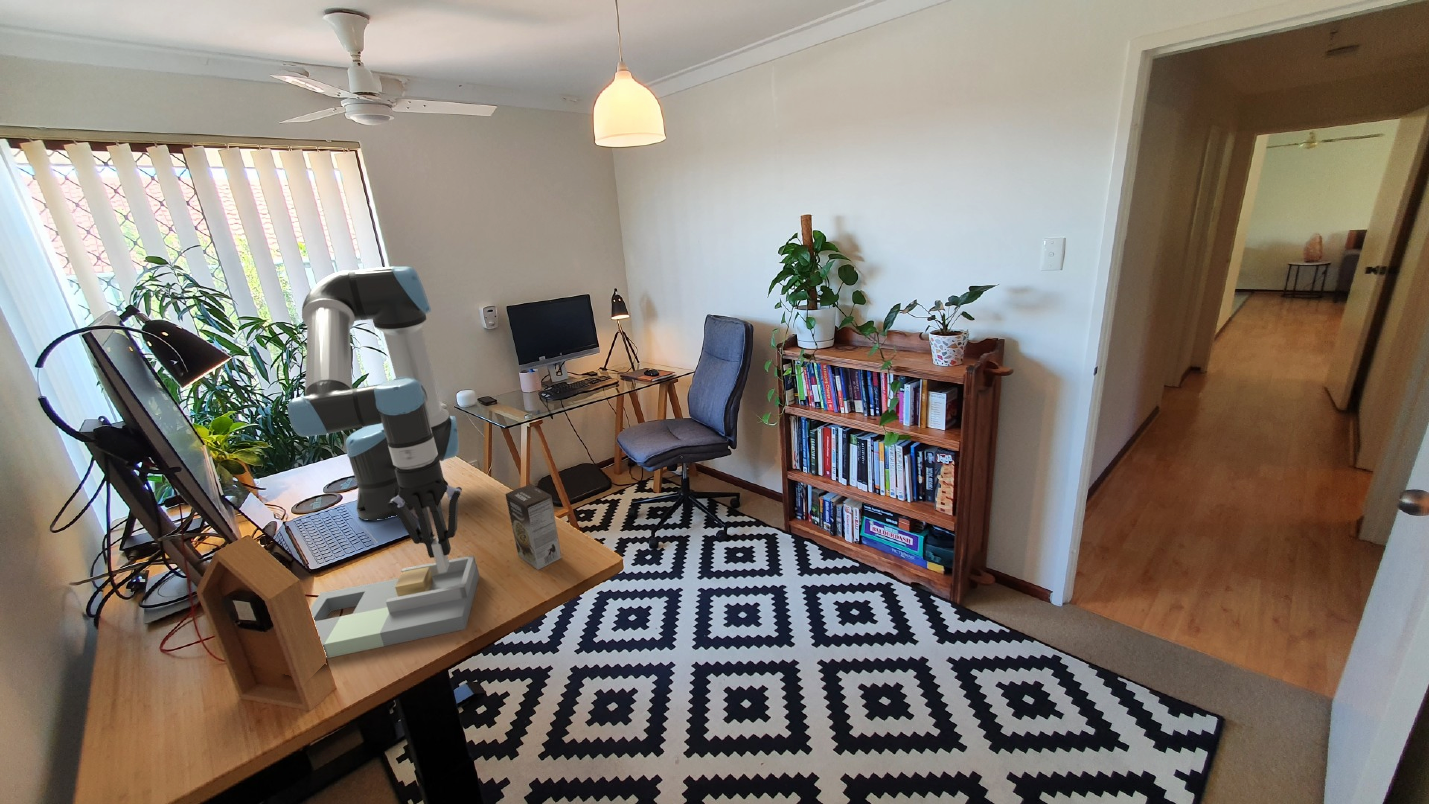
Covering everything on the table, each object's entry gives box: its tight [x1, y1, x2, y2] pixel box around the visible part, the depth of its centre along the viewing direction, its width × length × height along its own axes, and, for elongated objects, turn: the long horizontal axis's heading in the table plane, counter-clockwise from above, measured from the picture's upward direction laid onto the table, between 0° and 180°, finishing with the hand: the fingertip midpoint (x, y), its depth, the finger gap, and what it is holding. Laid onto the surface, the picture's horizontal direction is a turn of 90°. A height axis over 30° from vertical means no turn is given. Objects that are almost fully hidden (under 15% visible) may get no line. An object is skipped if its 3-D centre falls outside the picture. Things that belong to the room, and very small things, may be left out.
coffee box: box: [504, 483, 562, 571], centre depth 121 cm, size 9×6×16 cm
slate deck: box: [310, 554, 480, 659], centre depth 106 cm, size 17×30×6 cm, turn 104°
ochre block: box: [395, 567, 433, 597], centre depth 108 cm, size 5×5×4 cm
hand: (444, 568), depth 109 cm, fingers closed
